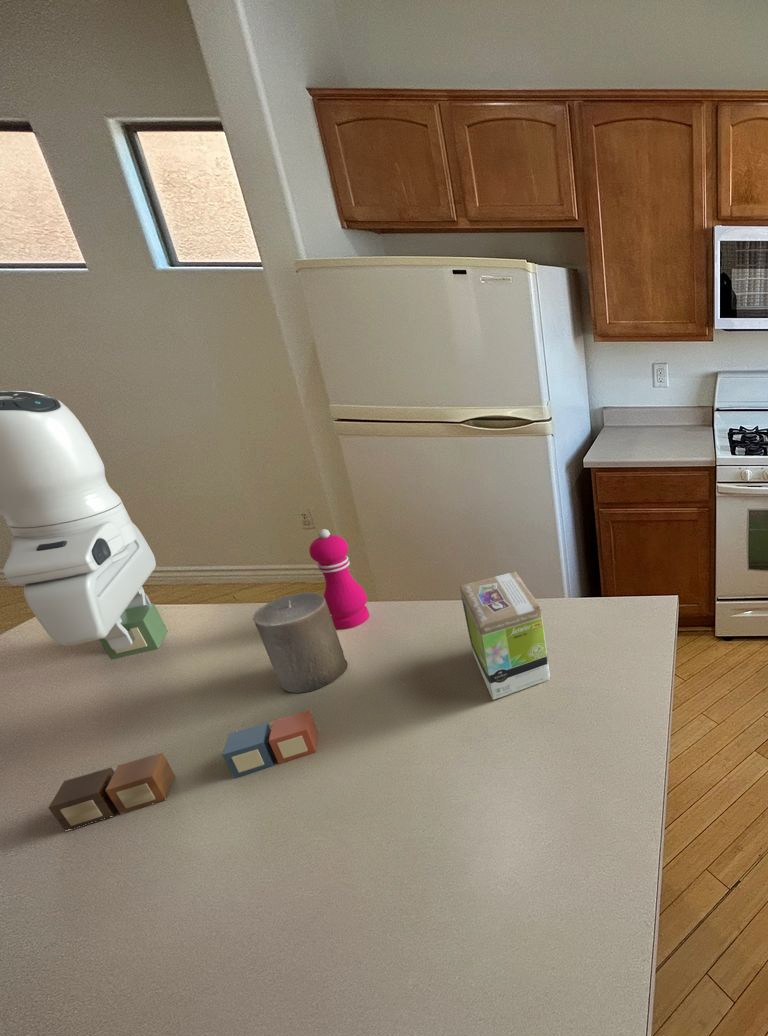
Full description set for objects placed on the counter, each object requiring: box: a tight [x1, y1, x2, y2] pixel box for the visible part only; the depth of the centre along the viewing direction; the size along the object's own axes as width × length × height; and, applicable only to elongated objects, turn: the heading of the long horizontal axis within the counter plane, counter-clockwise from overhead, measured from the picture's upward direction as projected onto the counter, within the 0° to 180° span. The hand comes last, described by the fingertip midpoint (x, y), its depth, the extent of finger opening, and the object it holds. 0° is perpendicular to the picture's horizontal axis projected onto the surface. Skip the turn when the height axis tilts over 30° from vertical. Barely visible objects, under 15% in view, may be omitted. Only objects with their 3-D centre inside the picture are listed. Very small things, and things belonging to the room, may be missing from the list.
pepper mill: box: [308, 528, 370, 630], centre depth 106 cm, size 7×7×20 cm
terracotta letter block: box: [269, 709, 319, 764], centre depth 80 cm, size 4×5×4 cm
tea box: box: [459, 571, 551, 701], centre depth 95 cm, size 15×10×15 cm
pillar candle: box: [252, 591, 348, 694], centre depth 92 cm, size 10×10×15 cm
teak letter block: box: [105, 752, 176, 815], centre depth 72 cm, size 4×5×4 cm
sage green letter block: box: [98, 602, 169, 661], centre depth 69 cm, size 4×4×4 cm
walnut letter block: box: [48, 766, 118, 831], centre depth 70 cm, size 4×5×4 cm
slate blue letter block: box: [222, 722, 276, 779], centre depth 77 cm, size 4×5×4 cm
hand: (133, 633), depth 69 cm, fingers closed on sage green letter block, 4 cm apart
